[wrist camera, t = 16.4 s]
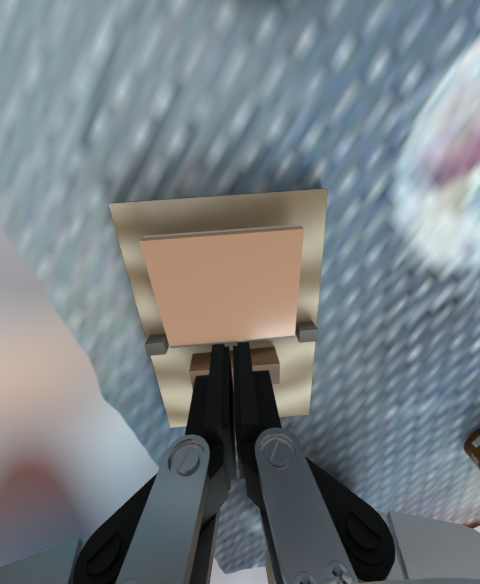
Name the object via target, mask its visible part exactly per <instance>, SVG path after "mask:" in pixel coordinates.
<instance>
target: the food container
mask: <svg viewBox="0 0 480 584" xmlns="http://www.w3.org/2000/svg"><path fill="white" fill-rule="evenodd" d="M464 450H465V452H466V453H467V454H468V456H469V457H470V458H471V459H472V461H473V462H474V463H475V464H476V466H477V467H478V468H479V469H480V429H479V430H477V431H476V432H474V433H473V434H472V435H471V436H470V437H469V438H468V439H467V441H466V442H465V445H464Z"/></svg>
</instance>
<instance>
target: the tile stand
mask: <svg viewBox="0 0 480 584" xmlns="http://www.w3.org/2000/svg"><path fill="white" fill-rule="evenodd" d="M327 196H328V188H322V189H307V190H293V191H279V192H265V193H251V194H237V195H222V196H208V197H194V198H180V199H166V200H151V201H137V202H123V203H112V204H109V208H110V211H111V215H112V218H113V222H114V226H115V229H116V233H117V236H118V240H119V244H120V247H121V251H122V254H123V258H124V262H125V265H126V269H127V272H128V276H129V280H130V283H131V287H132V290H133V294H134V298H135V301H136V305H137V308H138V312H139V316H140V319H141V323H142V326H143V330H144V334H145V337H146V343H145V347H146V351H147V354H148V356H151V359H152V362H153V366H154V370H155V373H156V377H157V380H158V384H159V388H160V391H161V395H162V398H163V402H164V406H165V409H166V413H167V416H168V420H169V424H170V427H171V428H172V427H182V426H187V421H188V415H189V410H190V404H191V399H192V393H193V387H194V382H195V377H196V376H199V375H209V369H210V360H211V351H212V345H204V346H193V347H181V348H170V346H169V343H168V340H167V336H166V333H165V329H164V326H163V322H162V319H161V315H160V312H159V308H158V305H157V302H156V298H155V295H154V291H153V288H152V284H151V281H150V277H149V274H148V270H147V267H146V264H145V260H144V257H143V253H142V250H141V246H140V243H139V241H140V240H141V239H142V238H143V237H144V236H149V235H162V234H176V233H189V232H203V231H216V230H230V229H243V228H257V227H270V226H284V225H297V224H299V225H300V226H301V227H302V228H304V235H303V246H302V258H301V270H300V281H299V293H298V305H297V317H296V328H295V336H294V338H285V339H274V340H262V341H251V342H249V345H250V353H251V361H252V369H253V371H262V370H269V373H270V377H271V382H272V386H273V391H274V395H275V400H276V405H277V409H278V414H279V417H288V416H298V415H309V409H310V397H311V385H312V373H313V362H314V350H315V341H317V335H318V329H317V327H316V326H317V314H318V302H319V291H320V279H321V267H322V255H323V243H324V231H325V219H326V208H327ZM227 346H229V349H230V359H231V368H232V378H233V388H234V377H233V346H237V343H228V344H225V347H227Z"/></svg>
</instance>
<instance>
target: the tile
mask: <svg viewBox="0 0 480 584" xmlns="http://www.w3.org/2000/svg"><path fill="white" fill-rule="evenodd" d="M303 235H304V228H302V227H301V226H300V225H299V224H297V225H284V226H270V227H257V228H243V229H230V230H216V231H203V232H189V233H176V234H162V235H149V236H144V237H143V238H142V239H141V240H140V241H139V243H140V246H141V250H142V253H143V257H144V260H145V264H146V267H147V270H148V274H149V277H150V281H151V284H152V288H153V291H154V295H155V298H156V302H157V305H158V308H159V312H160V315H161V319H162V322H163V326H164V329H165V333H166V336H167V340H168V343H169V346H170V348H181V347H193V346H204V345H213V344H228V343H237V342H251V341H262V340H274V339H285V338H294V336H295V328H296V317H297V305H298V293H299V281H300V270H301V258H302V246H303Z"/></svg>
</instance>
